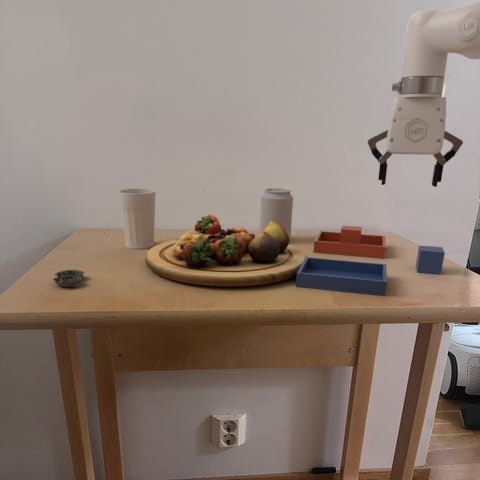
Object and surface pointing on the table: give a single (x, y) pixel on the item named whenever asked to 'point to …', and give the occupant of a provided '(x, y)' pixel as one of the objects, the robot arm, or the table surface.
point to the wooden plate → (226, 256)
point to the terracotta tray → (350, 245)
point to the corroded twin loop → (68, 277)
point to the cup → (138, 217)
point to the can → (276, 208)
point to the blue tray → (342, 276)
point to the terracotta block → (350, 234)
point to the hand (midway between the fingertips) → (408, 185)
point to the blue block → (430, 259)
